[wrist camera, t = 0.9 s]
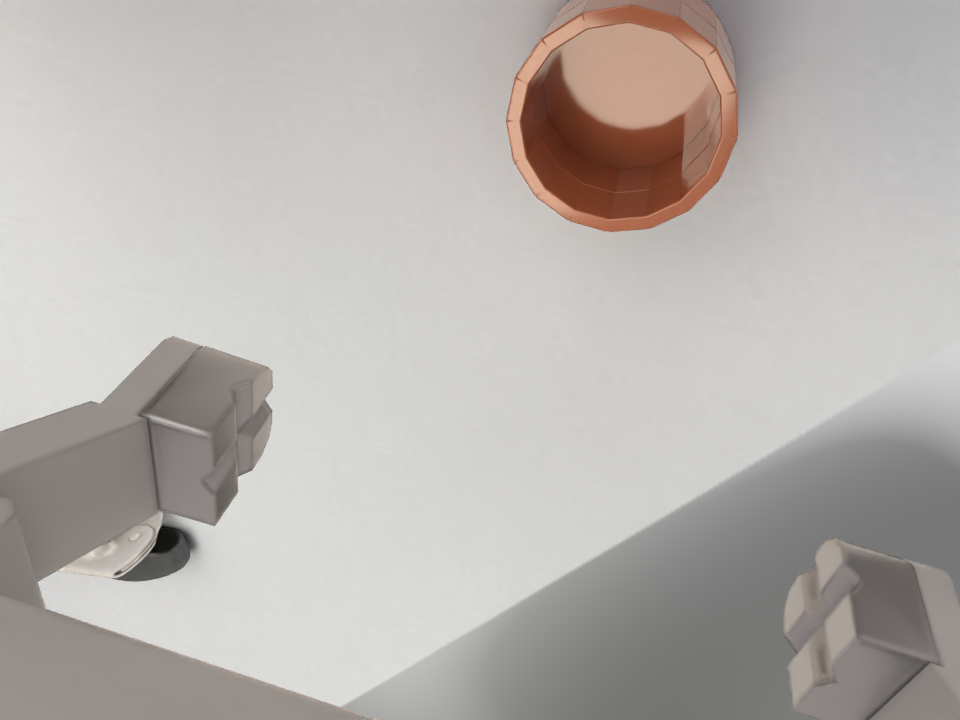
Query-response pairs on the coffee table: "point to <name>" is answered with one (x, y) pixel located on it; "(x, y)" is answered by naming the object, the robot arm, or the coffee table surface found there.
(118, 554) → the can opener
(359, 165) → the coffee table surface
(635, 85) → the bowl
